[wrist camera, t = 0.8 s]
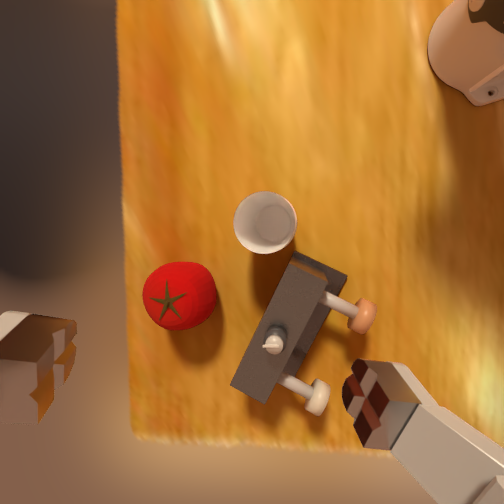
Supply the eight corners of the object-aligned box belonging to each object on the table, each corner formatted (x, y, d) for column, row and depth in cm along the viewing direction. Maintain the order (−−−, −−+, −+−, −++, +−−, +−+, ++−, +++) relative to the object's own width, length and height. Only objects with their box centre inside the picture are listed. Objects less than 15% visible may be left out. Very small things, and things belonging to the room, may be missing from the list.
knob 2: (372, 300, 45) (380, 309, 40) (357, 327, 46) (363, 339, 41) (317, 274, 46) (319, 280, 41) (304, 301, 47) (304, 309, 42)
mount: (346, 275, 50) (358, 288, 39) (289, 383, 54) (286, 423, 43) (294, 250, 51) (292, 256, 40) (242, 358, 55) (227, 390, 44)
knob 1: (328, 378, 48) (331, 396, 43) (315, 403, 48) (316, 423, 43) (278, 352, 49) (275, 366, 44) (266, 376, 50) (261, 392, 45)
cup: (307, 234, 51) (307, 237, 39) (261, 256, 52) (249, 265, 41) (284, 189, 51) (278, 178, 39) (240, 212, 52) (221, 208, 41)
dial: (286, 325, 41) (284, 334, 38) (288, 346, 42) (286, 358, 38) (264, 325, 42) (261, 334, 38) (266, 346, 42) (262, 357, 39)
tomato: (235, 277, 54) (215, 292, 41) (207, 328, 56) (180, 357, 43) (181, 244, 55) (145, 250, 43) (155, 295, 57) (114, 314, 45)
